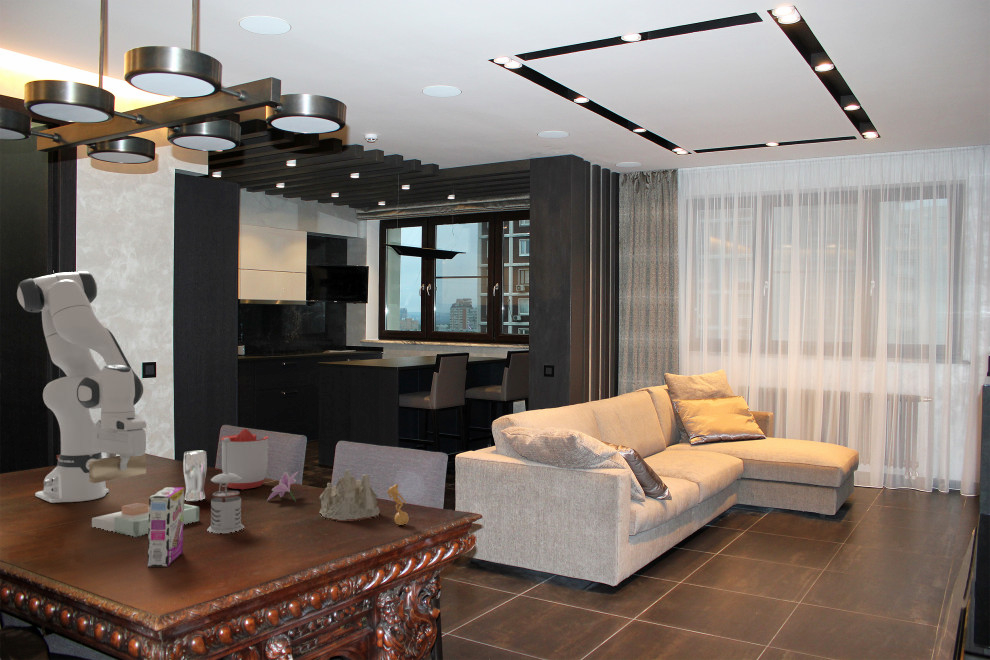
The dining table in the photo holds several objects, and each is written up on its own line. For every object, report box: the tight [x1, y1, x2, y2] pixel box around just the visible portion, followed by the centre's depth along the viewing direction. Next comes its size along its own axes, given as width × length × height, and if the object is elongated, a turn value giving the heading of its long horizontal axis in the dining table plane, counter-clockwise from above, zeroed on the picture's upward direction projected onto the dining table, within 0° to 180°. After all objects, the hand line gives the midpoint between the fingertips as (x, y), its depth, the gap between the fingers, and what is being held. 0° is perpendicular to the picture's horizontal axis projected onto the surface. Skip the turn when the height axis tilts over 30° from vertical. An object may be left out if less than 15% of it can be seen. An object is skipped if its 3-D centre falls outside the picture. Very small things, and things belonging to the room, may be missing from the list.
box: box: [113, 503, 200, 538], centre depth 213 cm, size 9×20×4 cm, turn 150°
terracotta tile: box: [121, 502, 149, 516], centre depth 218 cm, size 5×5×2 cm
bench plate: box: [91, 510, 149, 533], centre depth 218 cm, size 10×20×2 cm, turn 150°
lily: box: [266, 470, 299, 502], centre depth 246 cm, size 12×12×10 cm
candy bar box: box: [147, 486, 185, 568], centre depth 184 cm, size 11×5×16 cm, turn 5°
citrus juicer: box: [220, 428, 270, 491], centre depth 266 cm, size 16×17×20 cm
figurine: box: [387, 483, 410, 526], centre depth 217 cm, size 8×6×12 cm
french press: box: [206, 438, 245, 534], centre depth 213 cm, size 10×12×25 cm
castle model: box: [319, 468, 381, 520], centre depth 229 cm, size 16×16×15 cm
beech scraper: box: [89, 452, 147, 483], centre depth 222 cm, size 2×16×6 cm, turn 150°
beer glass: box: [182, 450, 208, 502], centre depth 246 cm, size 7×7×15 cm
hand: (118, 469), depth 222 cm, fingers closed on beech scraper, 2 cm apart
